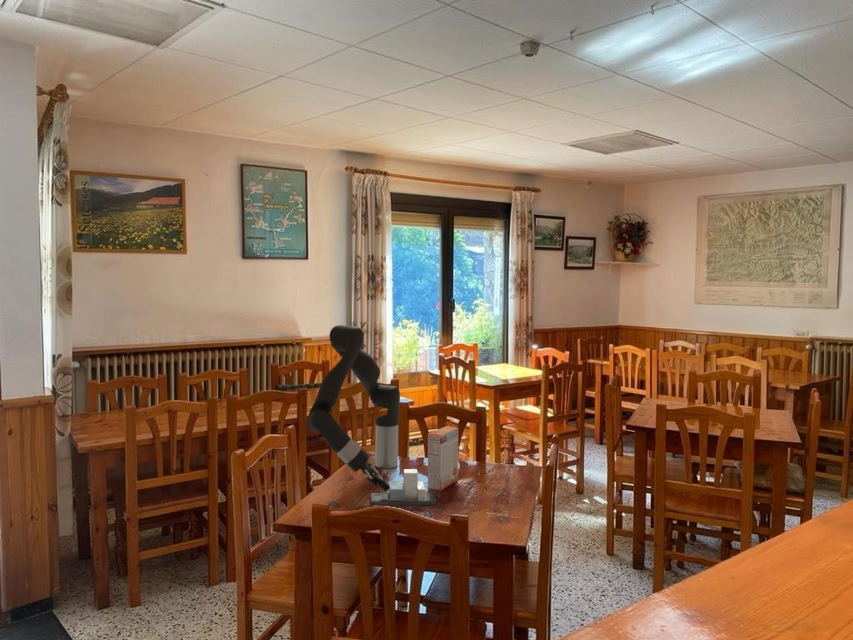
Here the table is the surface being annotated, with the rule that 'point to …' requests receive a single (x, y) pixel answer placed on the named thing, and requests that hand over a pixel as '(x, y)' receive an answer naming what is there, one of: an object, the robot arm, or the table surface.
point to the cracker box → (442, 458)
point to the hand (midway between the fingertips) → (387, 489)
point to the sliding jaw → (396, 491)
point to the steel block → (410, 483)
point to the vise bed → (422, 499)
